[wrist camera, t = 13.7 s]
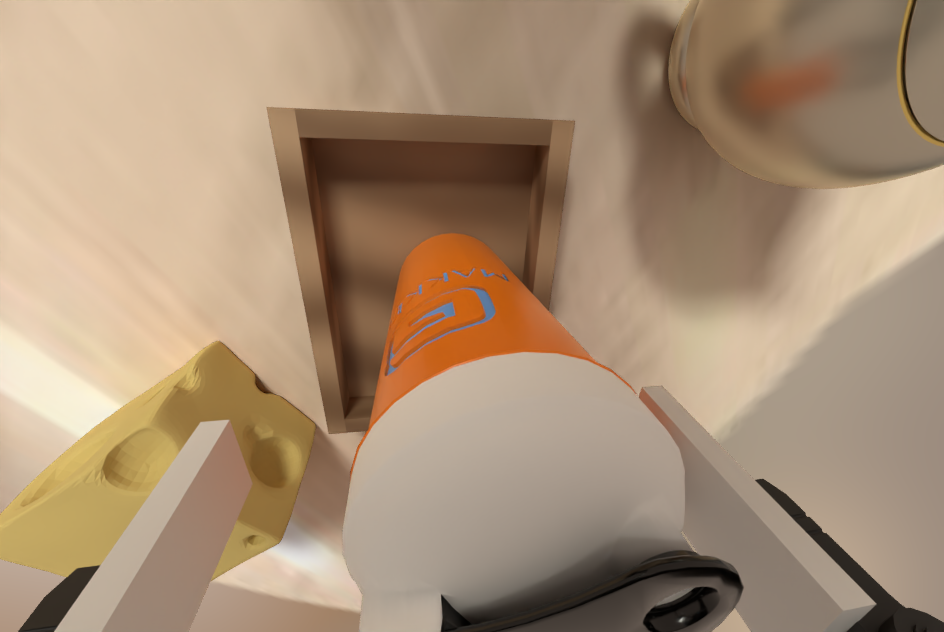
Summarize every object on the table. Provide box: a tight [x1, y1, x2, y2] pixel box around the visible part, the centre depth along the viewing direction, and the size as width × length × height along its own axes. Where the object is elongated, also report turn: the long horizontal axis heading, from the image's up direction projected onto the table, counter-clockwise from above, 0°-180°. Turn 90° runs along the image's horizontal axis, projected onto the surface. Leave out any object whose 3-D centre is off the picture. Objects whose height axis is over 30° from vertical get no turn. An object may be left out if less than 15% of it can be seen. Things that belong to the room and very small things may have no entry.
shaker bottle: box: [342, 233, 744, 632], centre depth 16 cm, size 9×9×20 cm
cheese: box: [0, 341, 316, 582], centre depth 24 cm, size 10×11×10 cm
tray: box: [267, 107, 575, 434], centre depth 24 cm, size 20×15×4 cm
